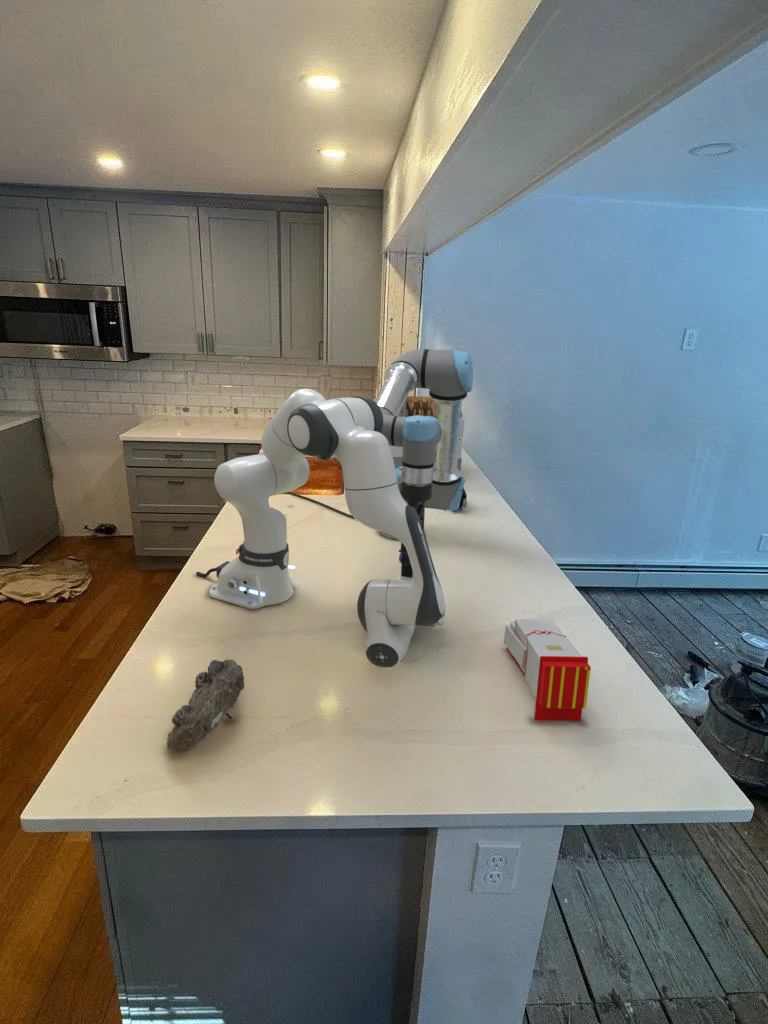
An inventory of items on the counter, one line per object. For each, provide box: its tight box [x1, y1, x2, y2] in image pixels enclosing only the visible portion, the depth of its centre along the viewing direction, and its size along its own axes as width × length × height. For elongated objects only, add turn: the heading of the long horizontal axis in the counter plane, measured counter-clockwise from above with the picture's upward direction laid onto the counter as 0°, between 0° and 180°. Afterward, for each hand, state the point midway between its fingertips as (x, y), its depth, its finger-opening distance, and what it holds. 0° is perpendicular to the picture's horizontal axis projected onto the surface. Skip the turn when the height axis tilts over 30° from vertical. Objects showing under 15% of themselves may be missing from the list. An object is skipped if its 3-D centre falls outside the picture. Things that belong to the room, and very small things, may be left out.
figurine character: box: [457, 487, 468, 512], centre depth 228 cm, size 7×8×15 cm
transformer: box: [390, 395, 465, 472], centre depth 268 cm, size 34×33×41 cm
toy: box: [503, 618, 592, 722], centre depth 122 cm, size 12×13×30 cm
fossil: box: [166, 658, 245, 754], centre depth 106 cm, size 22×10×15 cm
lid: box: [398, 552, 402, 565], centre depth 141 cm, size 6×6×2 cm
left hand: (409, 592), depth 145 cm, fingers closed on jar, 5 cm apart
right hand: (410, 569), depth 142 cm, fingers open, 8 cm apart
